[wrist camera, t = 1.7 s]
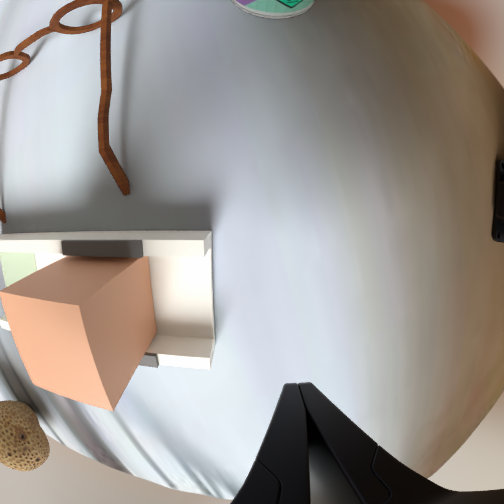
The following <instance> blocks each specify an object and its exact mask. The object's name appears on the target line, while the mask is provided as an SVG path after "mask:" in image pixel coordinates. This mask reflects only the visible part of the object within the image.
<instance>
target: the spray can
mask: <svg viewBox="0 0 504 504" xmlns="http://www.w3.org/2000/svg"><path fill="white" fill-rule="evenodd" d="M314 1H315V0H232V2H233V3H234V4H235V5H236V6H237V7H238V8H240V9H241V10H243V11H245V12H247V13H249V14H252V15H255V16H259V17H264V18H272V19H283V18H291V17H294V16H298V15H300V14H302V13H305V12H306V11H307V10H309V9H310V7H311V6H312V5H313V3H314Z"/></svg>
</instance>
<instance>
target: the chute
mask: <svg viewBox="0 0 504 504" xmlns="http://www.w3.org/2000/svg"><path fill="white" fill-rule="evenodd" d="M66 256H93V257H127V258H142V257H143V256H149V268H150V279H151V288H152V297H153V305H154V312H155V319H156V326H157V333H156V335H155V336H154V338H153V340H152V342H151V343H150V345H149V347H148V349H147V350H146V352H145V354H144V356H143V357H142V359H141V361H140V363H139V365H142V366H149V367H157V368H158V365H167V366H177V367H188V368H200V369H210V368H211V363H212V358H213V353H214V348H215V332H214V310H213V282H212V231H179V230H156V231H75V232H39V233H12V234H0V259H1V265H2V270H3V275H4V280H5V284H6V287H8V286H10V285H11V284H13V283H15V282H17V281H19V280H21V279H22V278H24V277H26V276H28V275H30V274H32V273H34V272H36V271H38V270H40V269H42V268H44V267H46V266H48V265H49V264H51V263H54V262H56V261H58V260H60V259H62V258H64V257H66ZM0 324H1V327H2V328H4V329H6V330H9V331H11V330H10V327H9V324H8V321H7V317H6V314H5V315H4V316H2V317H1V318H0Z"/></svg>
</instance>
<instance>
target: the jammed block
mask: <svg viewBox="0 0 504 504" xmlns="http://www.w3.org/2000/svg"><path fill="white" fill-rule="evenodd" d="M0 297H1V300H2V304H3V307H4V311H5V314H6V317H7V321H8V324H9V327H10V330H11V332H12V335H13V338H14V341H15V343H16V346H17V348H18V351H19V353H20V356H21V358H22V361H23V363H24V365H25V367H26V370H27V372H28V374H29V376H30V378H31V380H32V382H33V384H34V385H36V386H39V387H41V388H43V389H46V390H48V391H51V392H54V393H56V394H59V395H62V396H64V397H67V398H70V399H73V400H76V401H79V402H82V403H86V404H89V405H92V406H96V407H99V408H103V409H107V410H111V411H114V409H115V407H116V405H117V403H118V401H119V399H120V398H121V396H122V394H123V392H124V390H125V388H126V386H127V385H128V383H129V381H130V379H131V377H132V375H133V374H134V372H135V370H136V368H137V366H138V365H139V363H140V361H141V359H142V357H143V356H144V354H145V352H146V350H147V349H148V347H149V345H150V343H151V342H152V340H153V338H154V336H155V335H156V333H157V326H156V319H155V312H154V305H153V297H152V288H151V279H150V268H149V256H143V257H142V258H127V257H93V256H66V257H64V258H62V259H60V260H58V261H56V262H54V263H51V264H49V265H48V266H46V267H44V268H42V269H40V270H38V271H36V272H34V273H32V274H30V275H28V276H26V277H24V278H22V279H21V280H19V281H17V282H15V283H13V284H11V285H10V286H8V287H6V288H4V289H3V290H1V291H0Z"/></svg>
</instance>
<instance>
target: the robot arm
mask: <svg viewBox="0 0 504 504" xmlns="http://www.w3.org/2000/svg"><path fill="white" fill-rule="evenodd" d="M492 237H493V240H494V241H496V242H504V160H497V183H496V204H495V217H494V226H493V234H492ZM230 504H504V489H499V490H489V491H472V492H471V491H470V492H458V491H452V490H448V489H445V488H443V487H441V486H439V485H437V484H435V483H433V482H432V481H430V480H428V479H427V478H425V477H423V476H421V475H420V474H418V473H416V472H415V471H413V470H411V469H410V468H408V467H407V466H405V465H404V464H402V463H401V462H400V461H398V460H397V459H396V458H394V457H393V456H392V455H390V454H389V453H388V452H387V451H386V450H384V449H383V448H382V447H381V446H380V445H379V446H378V444H377V443H376V442H375V441H374V440H373V439H372V438H370V437H369V436H368V435H367V434H366V433H365V432H364V431H363V430H361V429H360V428H359V427H358V426H357V425H356V424H355V423H354V422H353V421H351V420H350V419H349V418H348V417H347V416H346V415H345V414H344V413H343V412H342V411H341V410H340V409H338V408H337V407H336V406H335V405H334V404H333V403H332V402H331V401H330V400H329V399H328V398H327V397H326V396H325V395H324V394H323V393H322V392H321V391H319V390H318V389H317V388H316V387H315V386H314V385H313V384H312V383H310V382H305V383H299V384H297V383H286V384H284V386H283V389H282V392H281V395H280V398H279V400H278V403H277V406H276V409H275V411H274V414H273V417H272V419H271V422H270V424H269V427H268V430H267V432H266V435H265V437H264V440H263V442H262V444H261V447H260V449H259V452H258V454H257V456H256V459H255V461H254V463H253V465H252V468H251V470H250V472H249V474H248V476H247V478H246V480H245V482H244V484H243V485H242V487H241V489H240V490H239V492H238V493H237V495H236V496H235V498H234V499H233V501H232V502H231V503H230Z"/></svg>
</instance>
